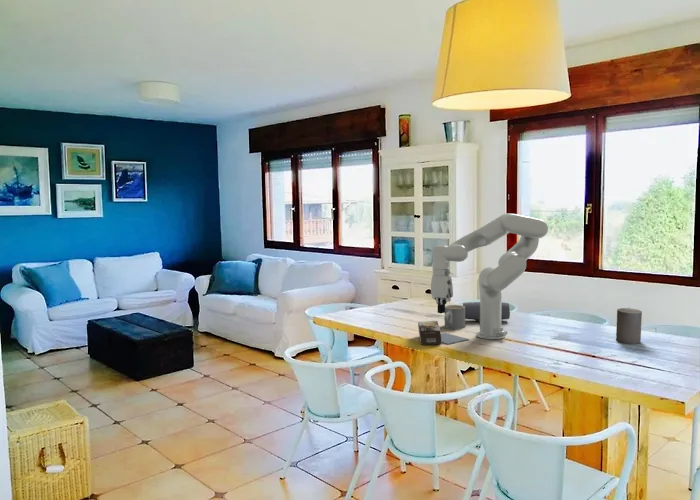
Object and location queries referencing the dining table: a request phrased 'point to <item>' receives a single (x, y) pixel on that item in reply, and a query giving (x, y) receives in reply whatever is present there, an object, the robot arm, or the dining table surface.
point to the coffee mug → (454, 316)
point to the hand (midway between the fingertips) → (441, 312)
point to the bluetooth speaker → (474, 311)
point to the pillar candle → (628, 326)
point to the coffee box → (429, 332)
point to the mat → (451, 338)
